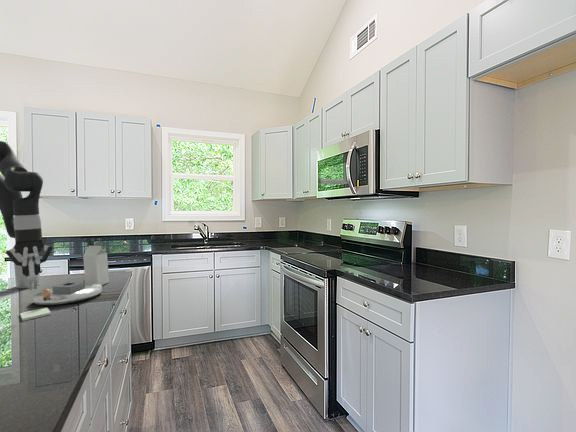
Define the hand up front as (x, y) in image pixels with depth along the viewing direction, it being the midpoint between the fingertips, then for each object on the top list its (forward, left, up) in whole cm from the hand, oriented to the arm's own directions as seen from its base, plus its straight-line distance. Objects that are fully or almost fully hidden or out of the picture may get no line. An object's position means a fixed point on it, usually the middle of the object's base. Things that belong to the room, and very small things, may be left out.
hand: (31, 275), depth 115 cm
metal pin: (0, 0, -5) cm, 5 cm away
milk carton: (-29, +27, -15) cm, 42 cm away
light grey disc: (-14, +13, -14) cm, 23 cm away
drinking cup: (-42, +28, -15) cm, 53 cm away
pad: (0, 0, -15) cm, 15 cm away
